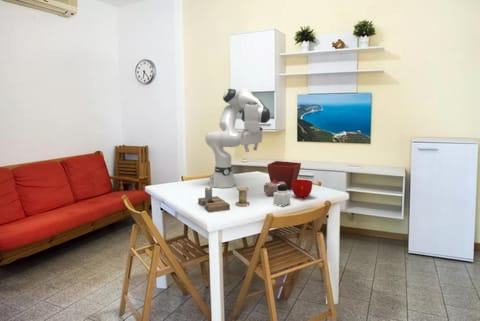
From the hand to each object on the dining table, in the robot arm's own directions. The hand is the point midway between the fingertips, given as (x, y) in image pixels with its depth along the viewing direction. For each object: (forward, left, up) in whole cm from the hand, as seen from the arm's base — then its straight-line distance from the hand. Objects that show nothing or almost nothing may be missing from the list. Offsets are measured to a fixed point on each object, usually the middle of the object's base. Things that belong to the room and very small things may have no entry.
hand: (251, 151), depth 228 cm
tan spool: (+14, -12, -29) cm, 34 cm away
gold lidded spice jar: (+11, -32, -29) cm, 45 cm away
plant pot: (-15, +33, -29) cm, 47 cm away
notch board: (+11, -29, -29) cm, 43 cm away
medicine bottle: (+23, +9, -29) cm, 38 cm away
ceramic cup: (+15, +28, -29) cm, 43 cm away
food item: (+2, +16, -29) cm, 34 cm away
